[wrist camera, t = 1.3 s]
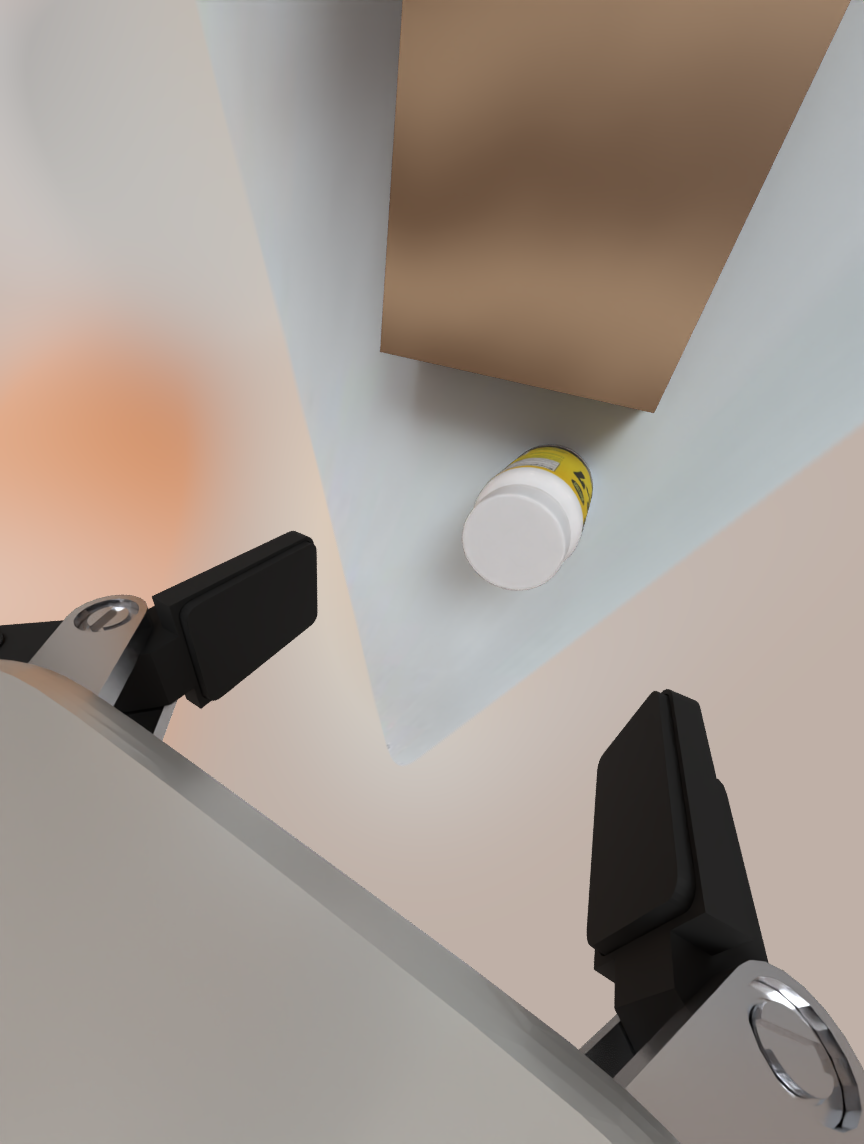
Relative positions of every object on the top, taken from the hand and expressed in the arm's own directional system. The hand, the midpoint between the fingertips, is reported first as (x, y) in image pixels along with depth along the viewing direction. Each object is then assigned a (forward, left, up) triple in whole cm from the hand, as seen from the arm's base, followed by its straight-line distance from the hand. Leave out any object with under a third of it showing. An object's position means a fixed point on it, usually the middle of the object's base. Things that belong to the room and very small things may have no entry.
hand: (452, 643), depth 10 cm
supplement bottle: (-1, 0, -14) cm, 14 cm away
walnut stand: (-11, -3, -14) cm, 18 cm away
